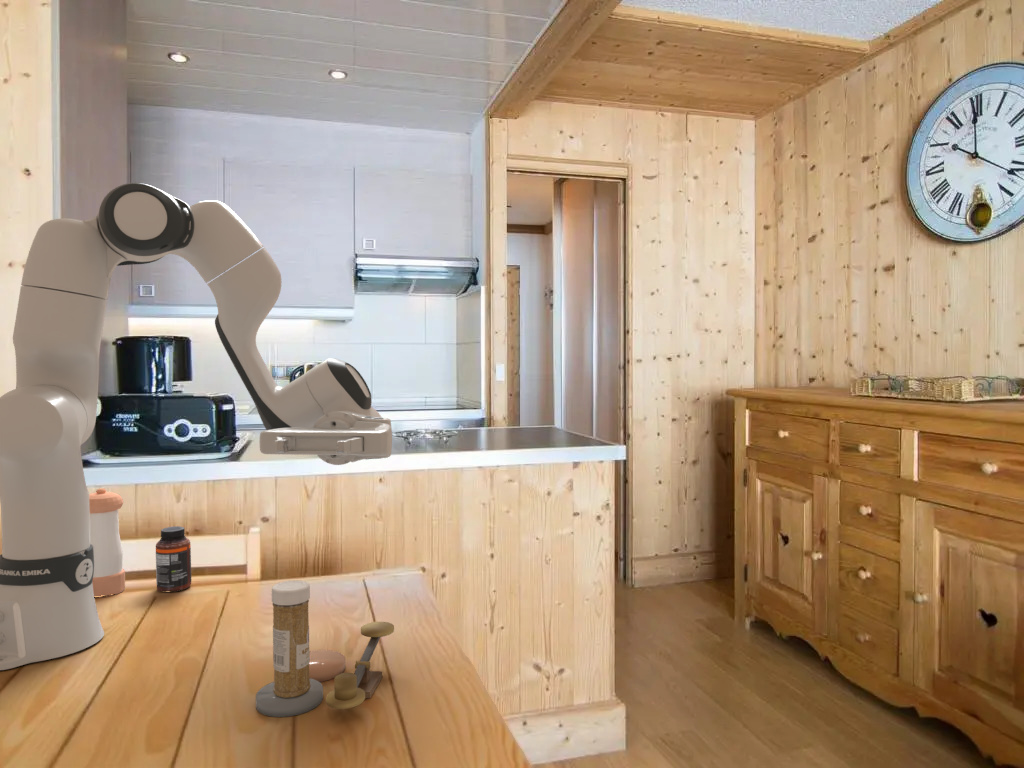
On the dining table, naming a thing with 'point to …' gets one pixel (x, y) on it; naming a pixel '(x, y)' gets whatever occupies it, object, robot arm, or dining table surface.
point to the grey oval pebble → (288, 701)
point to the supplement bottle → (173, 560)
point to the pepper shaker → (106, 543)
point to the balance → (359, 672)
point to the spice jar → (291, 638)
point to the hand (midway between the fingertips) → (310, 447)
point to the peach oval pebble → (325, 664)
